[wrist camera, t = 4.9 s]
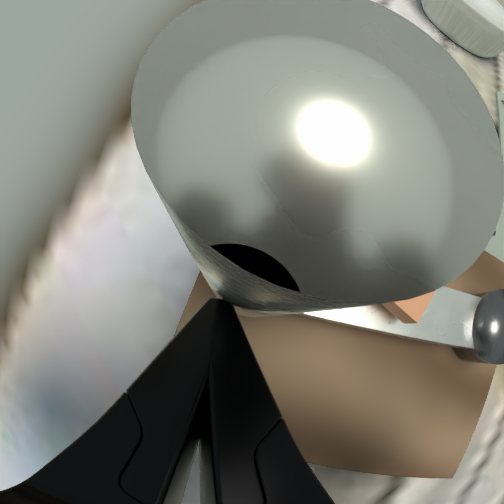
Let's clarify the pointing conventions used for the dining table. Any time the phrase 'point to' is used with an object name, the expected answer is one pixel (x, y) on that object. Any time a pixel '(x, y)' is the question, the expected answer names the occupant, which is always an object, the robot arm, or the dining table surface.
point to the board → (371, 387)
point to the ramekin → (470, 23)
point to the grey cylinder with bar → (325, 165)
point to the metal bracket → (500, 243)
